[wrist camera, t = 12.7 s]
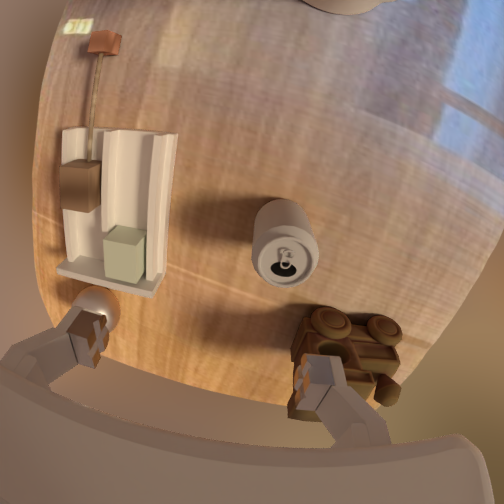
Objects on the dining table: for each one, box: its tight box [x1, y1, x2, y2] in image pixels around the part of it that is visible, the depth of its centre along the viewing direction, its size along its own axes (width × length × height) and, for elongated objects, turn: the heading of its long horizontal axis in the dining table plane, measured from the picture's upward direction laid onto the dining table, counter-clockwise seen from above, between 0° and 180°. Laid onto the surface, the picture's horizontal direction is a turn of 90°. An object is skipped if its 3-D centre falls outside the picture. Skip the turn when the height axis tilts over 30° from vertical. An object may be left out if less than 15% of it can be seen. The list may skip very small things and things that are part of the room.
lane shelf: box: [56, 126, 178, 298], centre depth 38 cm, size 22×17×7 cm
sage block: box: [103, 225, 147, 284], centre depth 40 cm, size 6×5×5 cm
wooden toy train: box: [287, 307, 402, 422], centre depth 44 cm, size 20×11×17 cm, turn 78°
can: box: [251, 199, 319, 288], centre depth 37 cm, size 8×8×12 cm
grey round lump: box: [72, 286, 120, 333], centre depth 45 cm, size 9×10×10 cm
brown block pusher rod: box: [59, 30, 122, 213], centre depth 32 cm, size 24×5×7 cm, turn 169°
